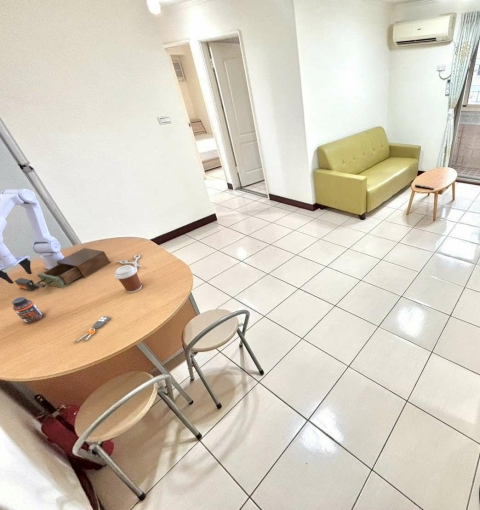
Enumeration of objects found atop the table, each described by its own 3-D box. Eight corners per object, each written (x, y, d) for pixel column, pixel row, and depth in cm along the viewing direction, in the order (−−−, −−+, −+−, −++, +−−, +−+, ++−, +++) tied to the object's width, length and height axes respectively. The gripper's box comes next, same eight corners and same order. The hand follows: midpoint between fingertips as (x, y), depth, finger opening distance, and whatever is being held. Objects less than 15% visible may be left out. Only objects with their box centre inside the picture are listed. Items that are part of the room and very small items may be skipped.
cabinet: (84, 277, 145) (77, 265, 141) (64, 273, 148) (56, 261, 144) (110, 262, 157) (103, 251, 153) (91, 259, 160) (84, 247, 156)
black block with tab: (20, 288, 138) (14, 280, 135) (26, 285, 140) (20, 277, 137) (33, 291, 136) (26, 283, 133) (39, 288, 138) (33, 280, 135)
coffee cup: (119, 291, 136) (108, 271, 129) (137, 280, 143) (127, 262, 136) (131, 296, 133) (119, 276, 126) (148, 285, 140) (139, 266, 133)
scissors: (137, 253, 164) (151, 264, 153) (138, 254, 164) (152, 266, 154) (117, 261, 157) (130, 273, 146) (117, 262, 157) (131, 275, 147)
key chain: (103, 318, 121) (101, 315, 120) (110, 318, 121) (109, 316, 120) (76, 341, 110) (74, 339, 109) (85, 342, 110) (83, 340, 109)
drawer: (52, 294, 133) (45, 284, 130) (32, 289, 136) (25, 280, 133) (90, 272, 148) (84, 263, 144) (71, 268, 151) (65, 259, 147)
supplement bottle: (27, 325, 117) (10, 306, 111) (23, 320, 120) (5, 301, 114) (45, 317, 121) (29, 298, 115) (40, 312, 124) (25, 293, 118)
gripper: (-13, 265, 120) (8, 288, 128) (26, 248, 132) (43, 270, 140) (-23, 262, 122) (-2, 286, 129) (16, 246, 134) (33, 268, 141)
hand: (21, 278), depth 135 cm, fingers open, 7 cm apart
